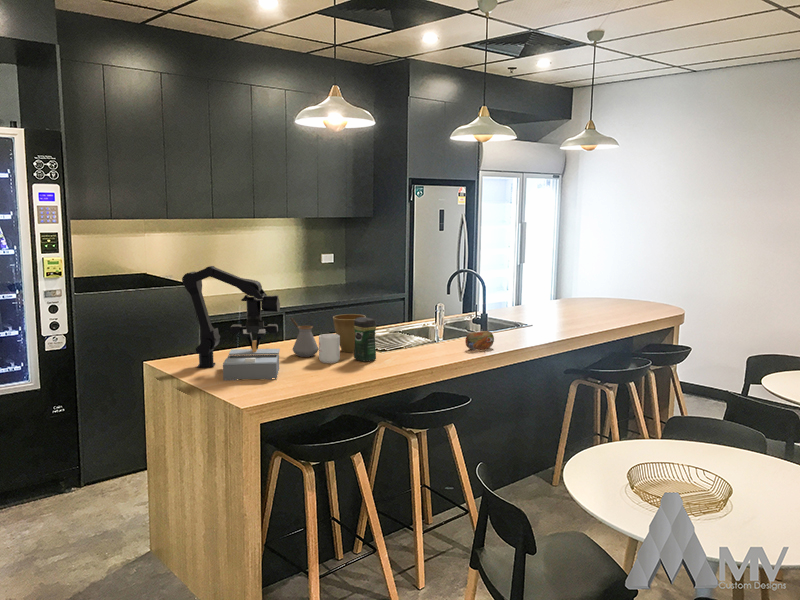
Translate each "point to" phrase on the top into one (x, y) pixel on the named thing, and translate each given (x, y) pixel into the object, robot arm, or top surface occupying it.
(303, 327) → the coffee pot
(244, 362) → the lid
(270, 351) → the lid
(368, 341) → the coffee jar
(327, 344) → the mug
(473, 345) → the tin
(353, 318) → the plant pot
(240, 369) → the carton
